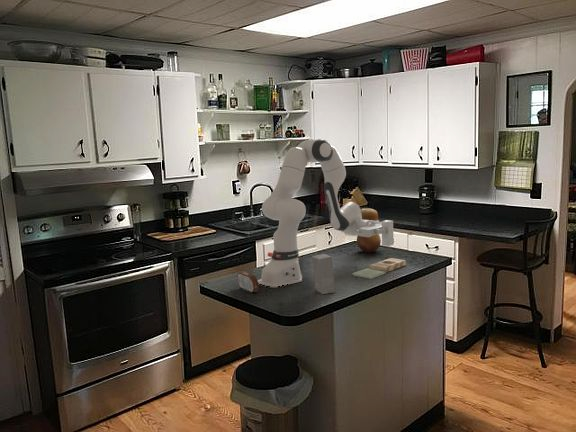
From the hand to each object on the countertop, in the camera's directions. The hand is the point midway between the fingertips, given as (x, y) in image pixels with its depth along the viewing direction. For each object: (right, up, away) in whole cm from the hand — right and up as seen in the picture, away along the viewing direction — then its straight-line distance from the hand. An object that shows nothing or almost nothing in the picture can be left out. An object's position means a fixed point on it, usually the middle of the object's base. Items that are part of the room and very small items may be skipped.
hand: (389, 231), depth 242 cm
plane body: (0, -18, +3) cm, 19 cm away
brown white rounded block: (-68, -26, -22) cm, 76 cm away
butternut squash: (-4, -13, +39) cm, 41 cm away
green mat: (-11, -20, -7) cm, 24 cm away
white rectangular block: (0, -7, +2) cm, 7 cm away
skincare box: (-34, -25, -29) cm, 51 cm away
